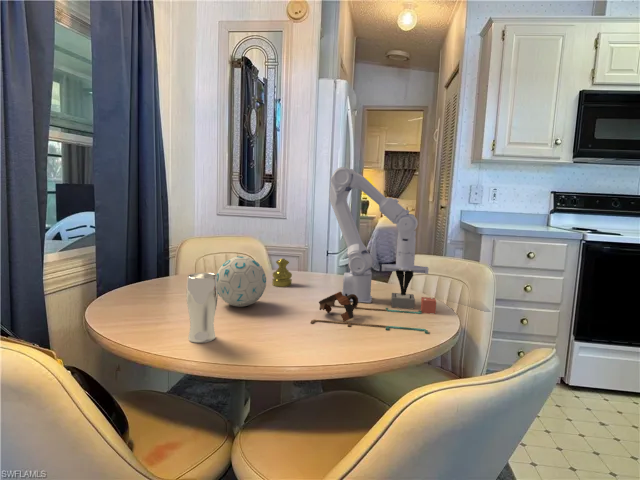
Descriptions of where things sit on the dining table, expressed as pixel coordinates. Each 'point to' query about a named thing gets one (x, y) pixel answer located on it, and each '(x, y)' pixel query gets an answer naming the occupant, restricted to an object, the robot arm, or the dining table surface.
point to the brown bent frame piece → (342, 300)
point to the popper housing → (403, 301)
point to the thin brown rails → (372, 324)
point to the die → (428, 305)
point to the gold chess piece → (282, 274)
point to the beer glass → (202, 306)
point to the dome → (402, 295)
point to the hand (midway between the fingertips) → (403, 294)
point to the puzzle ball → (241, 281)
